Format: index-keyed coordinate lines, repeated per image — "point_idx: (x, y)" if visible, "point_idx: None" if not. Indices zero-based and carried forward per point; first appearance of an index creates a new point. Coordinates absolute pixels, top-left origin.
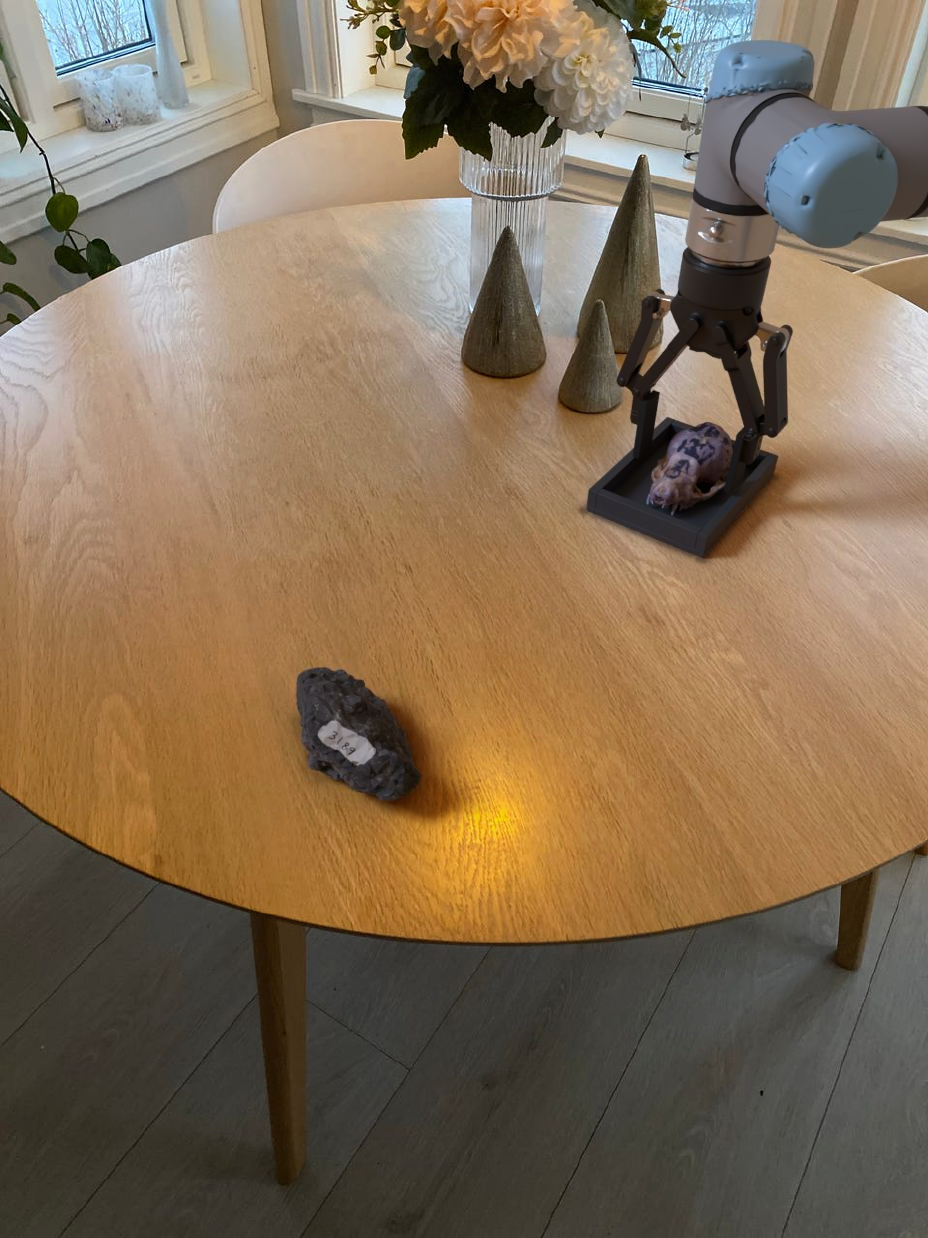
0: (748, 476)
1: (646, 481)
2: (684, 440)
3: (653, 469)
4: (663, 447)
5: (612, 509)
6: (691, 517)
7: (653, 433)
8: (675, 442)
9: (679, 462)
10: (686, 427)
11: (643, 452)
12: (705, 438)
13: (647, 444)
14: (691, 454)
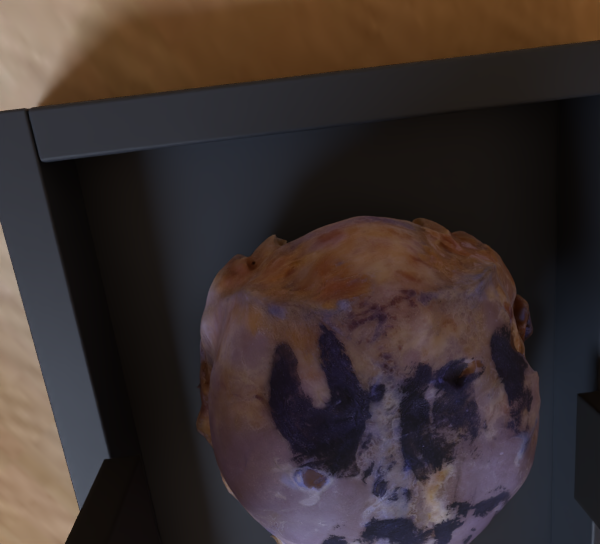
0: (521, 169)
1: (219, 473)
2: (328, 540)
3: (187, 396)
4: (108, 236)
5: None
6: None
7: (119, 509)
8: (279, 534)
9: None
10: (129, 139)
11: (152, 533)
12: (432, 489)
13: (139, 527)
14: None
